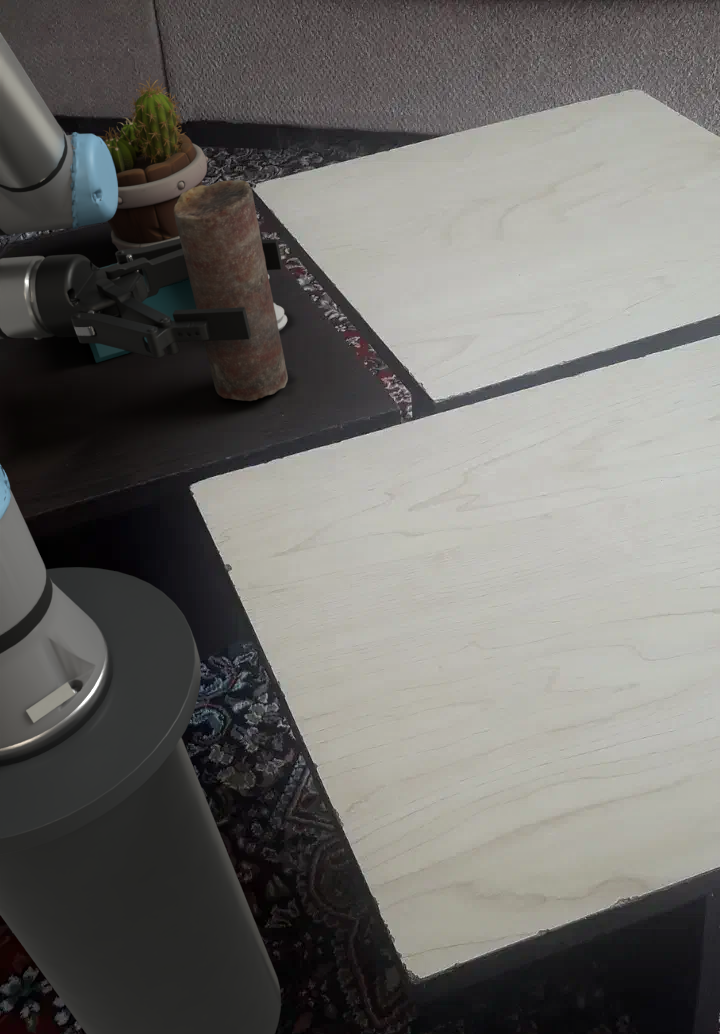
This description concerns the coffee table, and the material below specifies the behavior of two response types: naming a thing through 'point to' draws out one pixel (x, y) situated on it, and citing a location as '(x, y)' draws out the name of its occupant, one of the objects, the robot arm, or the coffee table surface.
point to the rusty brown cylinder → (232, 285)
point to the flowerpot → (151, 171)
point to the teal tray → (163, 302)
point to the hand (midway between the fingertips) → (264, 287)
